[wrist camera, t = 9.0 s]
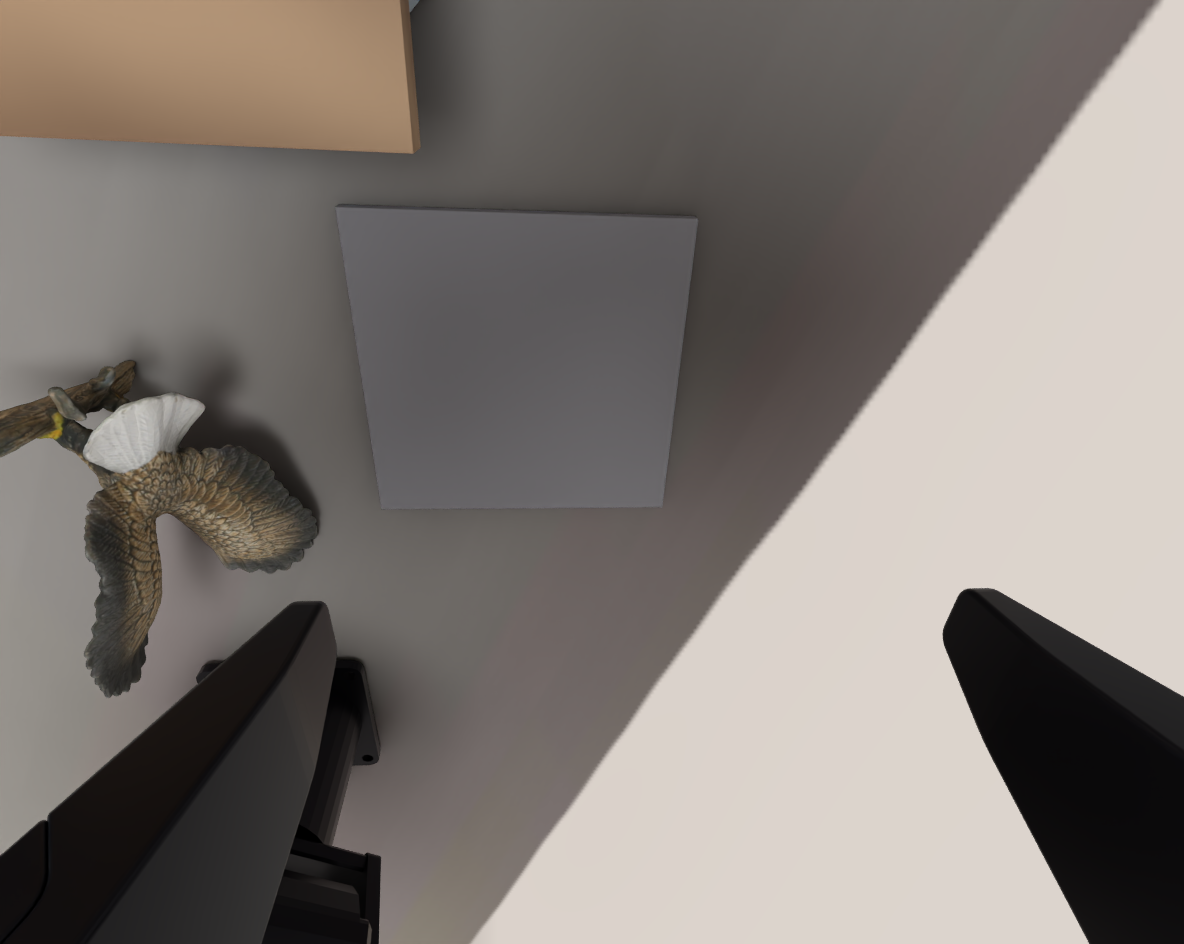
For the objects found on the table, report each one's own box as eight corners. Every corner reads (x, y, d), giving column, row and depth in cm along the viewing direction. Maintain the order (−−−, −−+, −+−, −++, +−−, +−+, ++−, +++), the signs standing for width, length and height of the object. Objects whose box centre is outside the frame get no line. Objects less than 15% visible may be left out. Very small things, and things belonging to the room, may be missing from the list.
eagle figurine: (-60, 435, 20) (124, 664, 23) (-168, 466, 14) (102, 771, 17) (201, 333, 23) (329, 547, 26) (206, 322, 17) (373, 602, 20)
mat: (660, 500, 24) (662, 507, 24) (383, 502, 23) (381, 509, 23) (695, 216, 19) (698, 218, 19) (338, 204, 18) (335, 206, 18)
